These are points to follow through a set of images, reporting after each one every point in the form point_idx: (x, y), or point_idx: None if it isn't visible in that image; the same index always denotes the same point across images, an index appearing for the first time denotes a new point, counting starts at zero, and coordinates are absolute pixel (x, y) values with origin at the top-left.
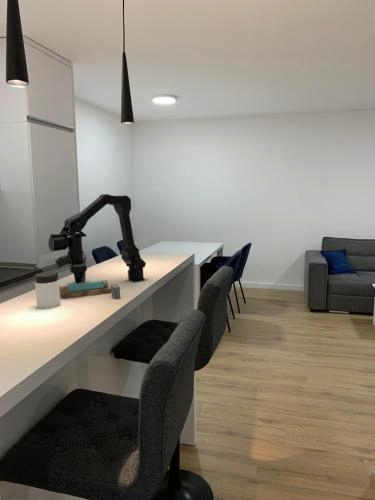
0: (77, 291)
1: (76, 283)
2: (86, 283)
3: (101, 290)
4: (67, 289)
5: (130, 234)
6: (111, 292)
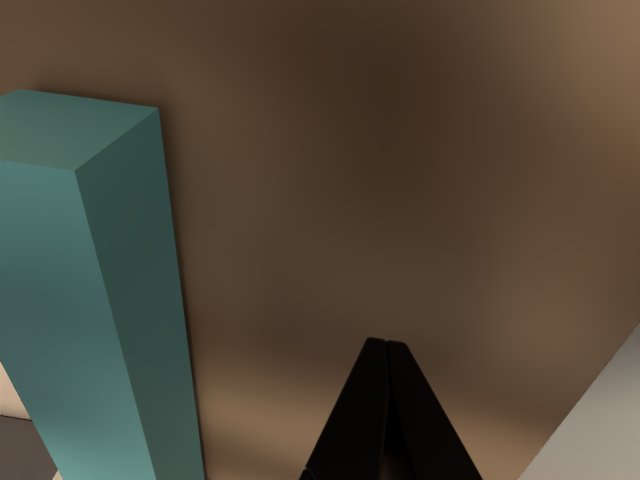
0: None
1: (118, 349)
2: (55, 444)
3: None
4: (329, 120)
5: None
6: (25, 452)
